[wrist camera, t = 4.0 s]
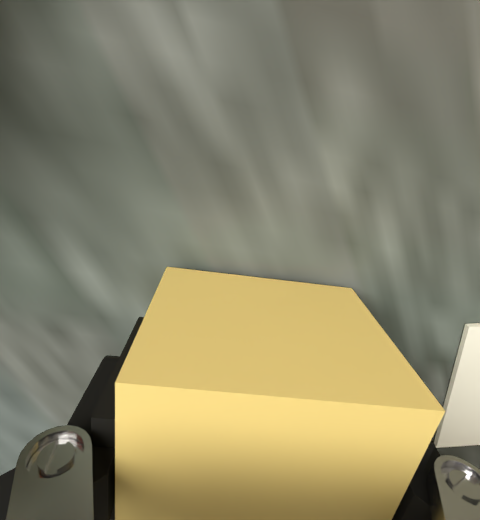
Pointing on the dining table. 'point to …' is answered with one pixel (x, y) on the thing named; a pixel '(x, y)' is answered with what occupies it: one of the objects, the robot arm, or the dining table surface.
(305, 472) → the mustard brick
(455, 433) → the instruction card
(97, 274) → the dining table surface
